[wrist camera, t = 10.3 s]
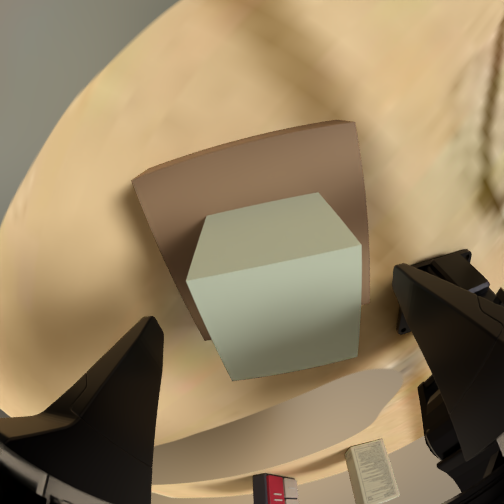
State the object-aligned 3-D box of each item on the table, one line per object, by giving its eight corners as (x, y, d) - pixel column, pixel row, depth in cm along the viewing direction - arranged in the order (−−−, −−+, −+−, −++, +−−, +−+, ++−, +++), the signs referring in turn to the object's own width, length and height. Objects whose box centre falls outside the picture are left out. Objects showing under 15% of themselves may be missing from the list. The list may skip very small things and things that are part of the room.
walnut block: (353, 275, 17) (369, 303, 15) (209, 308, 18) (204, 340, 16) (333, 119, 13) (354, 121, 10) (151, 166, 14) (131, 180, 11)
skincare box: (343, 454, 35) (354, 511, 24) (350, 445, 33) (363, 508, 22) (376, 446, 35) (390, 500, 24) (384, 437, 33) (400, 495, 22)
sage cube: (328, 283, 14) (357, 356, 10) (234, 302, 14) (232, 380, 10) (318, 192, 12) (361, 244, 7) (206, 215, 12) (186, 280, 8)
